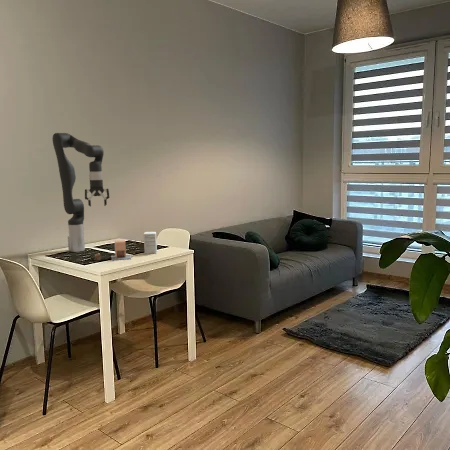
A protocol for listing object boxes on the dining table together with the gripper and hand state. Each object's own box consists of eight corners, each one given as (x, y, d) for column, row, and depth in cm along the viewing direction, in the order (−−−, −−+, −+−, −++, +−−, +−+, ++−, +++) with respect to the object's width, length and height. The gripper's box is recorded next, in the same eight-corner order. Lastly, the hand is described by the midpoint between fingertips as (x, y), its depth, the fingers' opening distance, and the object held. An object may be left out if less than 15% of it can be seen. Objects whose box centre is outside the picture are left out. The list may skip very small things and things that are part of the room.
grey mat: (111, 260, 263) (111, 259, 263) (111, 256, 273) (111, 255, 273) (131, 259, 266) (131, 258, 266) (129, 255, 276) (129, 254, 276)
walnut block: (95, 260, 264) (94, 255, 264) (95, 259, 267) (95, 254, 267) (100, 260, 265) (100, 255, 265) (100, 259, 268) (100, 254, 268)
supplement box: (145, 251, 287) (144, 231, 285) (157, 251, 288) (156, 231, 286) (144, 254, 280) (143, 233, 278) (156, 253, 280) (155, 233, 279)
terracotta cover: (115, 258, 266) (114, 242, 264) (115, 256, 272) (114, 240, 270) (126, 257, 267) (125, 241, 266) (125, 255, 273) (124, 240, 272)
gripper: (108, 178, 278) (109, 205, 280) (83, 179, 274) (85, 206, 276) (108, 179, 271) (110, 206, 273) (83, 179, 267) (85, 207, 269)
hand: (97, 206), depth 275 cm, fingers open, 8 cm apart
